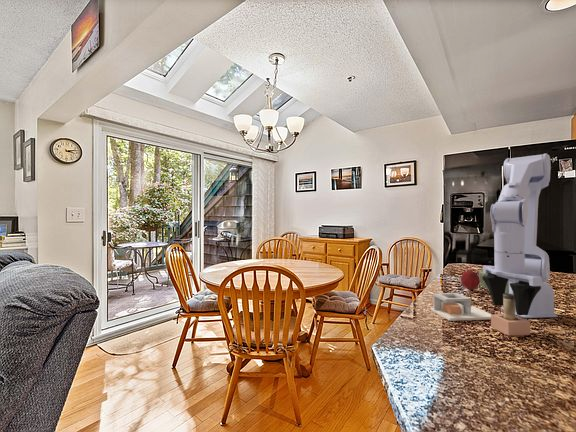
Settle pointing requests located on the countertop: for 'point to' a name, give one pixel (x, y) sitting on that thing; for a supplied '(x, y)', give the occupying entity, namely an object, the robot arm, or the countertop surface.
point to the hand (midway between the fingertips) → (509, 309)
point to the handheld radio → (485, 283)
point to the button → (452, 308)
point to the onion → (470, 279)
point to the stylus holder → (510, 325)
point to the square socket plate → (465, 307)
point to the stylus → (509, 306)
